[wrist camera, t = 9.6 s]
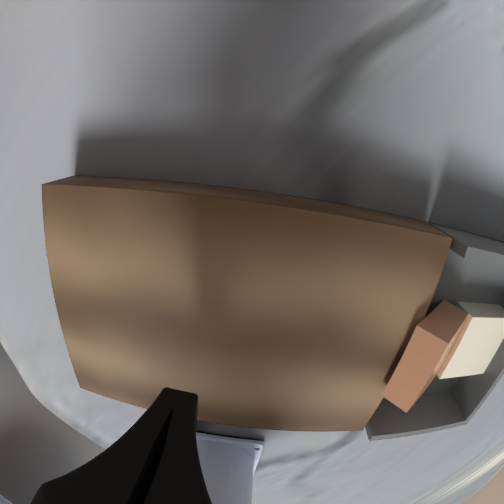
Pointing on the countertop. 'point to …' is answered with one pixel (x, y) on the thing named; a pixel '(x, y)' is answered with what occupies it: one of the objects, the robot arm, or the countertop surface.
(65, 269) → the wooden serving tray
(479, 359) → the tile back
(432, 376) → the tile front
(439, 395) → the bin
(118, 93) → the countertop surface
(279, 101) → the countertop surface
